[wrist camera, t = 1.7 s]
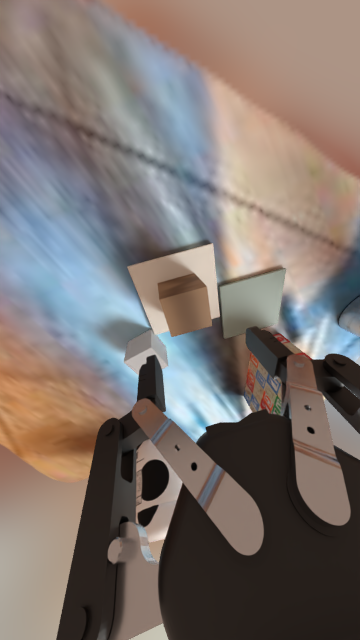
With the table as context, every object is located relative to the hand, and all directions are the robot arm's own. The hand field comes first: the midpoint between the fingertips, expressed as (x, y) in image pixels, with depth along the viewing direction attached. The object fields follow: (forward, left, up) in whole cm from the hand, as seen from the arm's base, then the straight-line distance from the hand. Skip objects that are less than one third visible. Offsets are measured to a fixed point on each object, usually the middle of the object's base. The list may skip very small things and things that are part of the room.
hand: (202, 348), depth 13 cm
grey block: (+8, +8, -13) cm, 18 cm away
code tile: (0, 0, -13) cm, 13 cm away
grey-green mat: (-12, +6, -13) cm, 19 cm away
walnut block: (0, 0, -13) cm, 13 cm away
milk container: (+17, +48, -13) cm, 53 cm away
